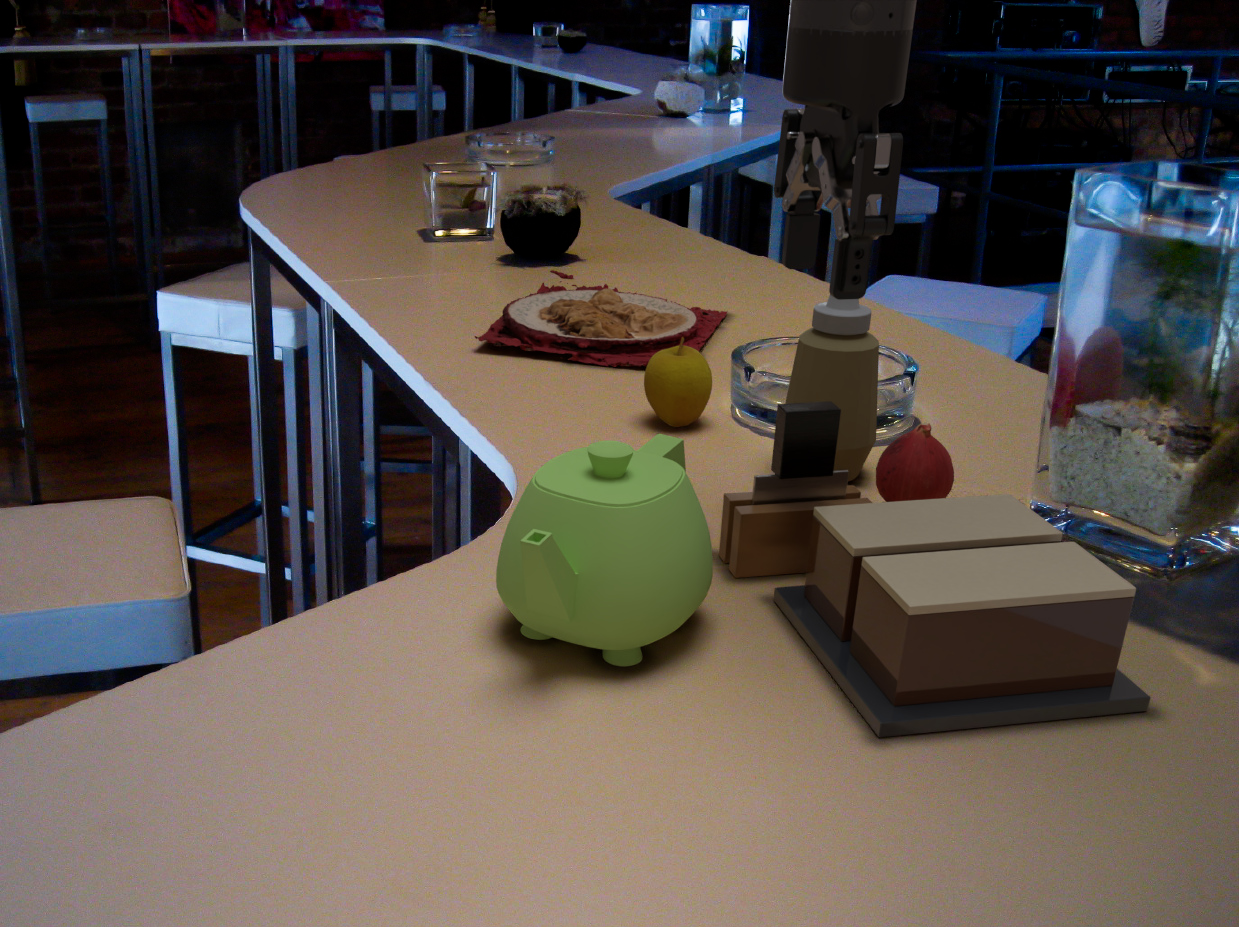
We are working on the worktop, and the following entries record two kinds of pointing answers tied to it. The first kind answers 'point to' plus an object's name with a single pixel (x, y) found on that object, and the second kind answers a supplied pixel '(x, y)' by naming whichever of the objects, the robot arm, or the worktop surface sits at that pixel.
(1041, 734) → the worktop surface
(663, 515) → the teapot
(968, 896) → the worktop surface
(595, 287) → the plate with food
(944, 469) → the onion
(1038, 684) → the cake
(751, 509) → the knife block
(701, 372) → the apple
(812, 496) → the knife
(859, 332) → the squeeze bottle
